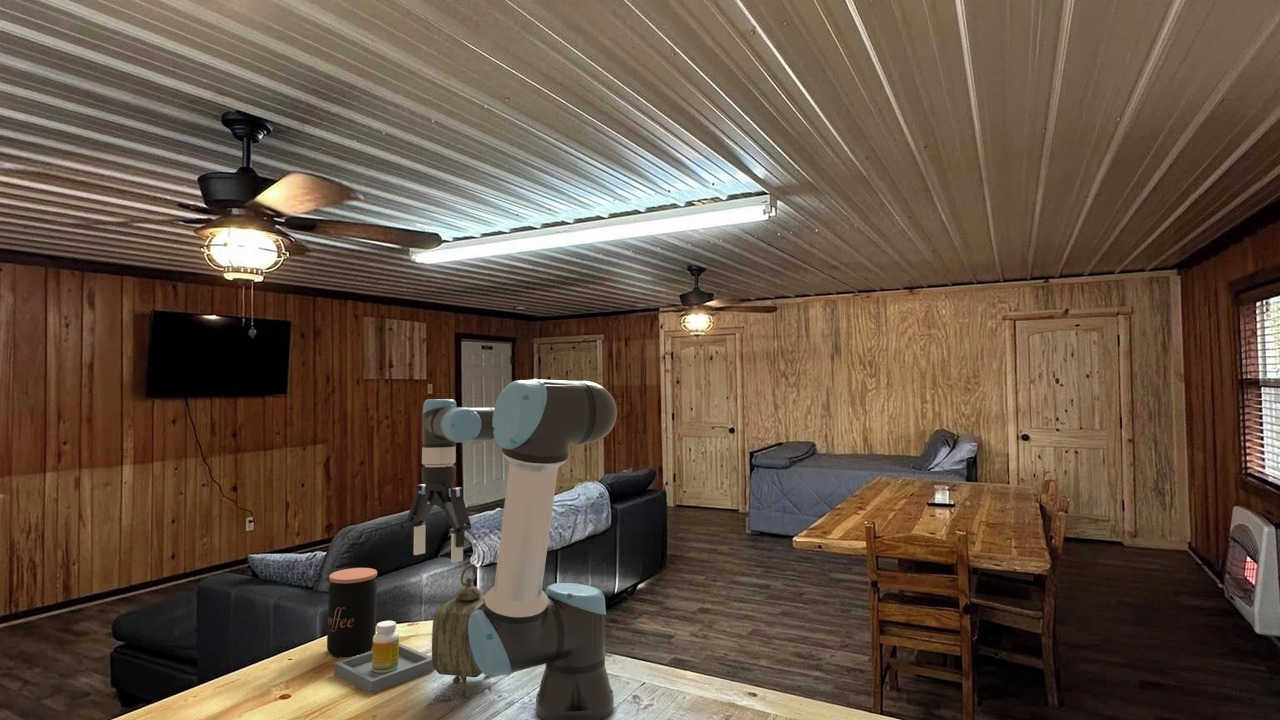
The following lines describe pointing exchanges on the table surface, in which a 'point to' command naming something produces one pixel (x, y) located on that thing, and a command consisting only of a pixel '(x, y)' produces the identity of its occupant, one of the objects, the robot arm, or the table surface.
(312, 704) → the table surface
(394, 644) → the supplement bottle
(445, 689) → the table surface
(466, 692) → the tabletop clock
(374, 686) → the tray
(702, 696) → the table surface
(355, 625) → the coffee jar
